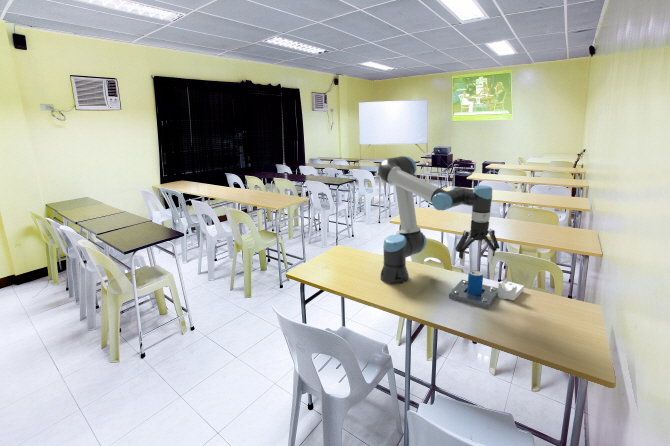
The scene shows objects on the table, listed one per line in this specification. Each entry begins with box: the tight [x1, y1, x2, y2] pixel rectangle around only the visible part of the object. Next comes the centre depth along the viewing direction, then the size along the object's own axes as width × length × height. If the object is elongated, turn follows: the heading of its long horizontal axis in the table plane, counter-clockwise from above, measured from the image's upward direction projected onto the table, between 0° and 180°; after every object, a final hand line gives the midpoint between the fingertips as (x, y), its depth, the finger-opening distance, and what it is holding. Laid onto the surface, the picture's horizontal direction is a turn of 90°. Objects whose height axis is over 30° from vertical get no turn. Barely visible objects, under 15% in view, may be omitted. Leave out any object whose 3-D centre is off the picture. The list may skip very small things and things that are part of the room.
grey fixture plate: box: [448, 279, 498, 310], centre depth 164 cm, size 18×18×3 cm
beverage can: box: [467, 270, 484, 297], centre depth 163 cm, size 6×6×12 cm
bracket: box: [497, 280, 525, 301], centre depth 163 cm, size 13×7×8 cm, turn 134°
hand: (475, 263), depth 160 cm, fingers open, 13 cm apart
